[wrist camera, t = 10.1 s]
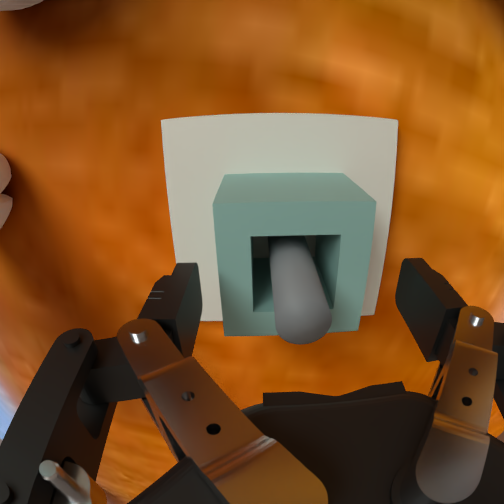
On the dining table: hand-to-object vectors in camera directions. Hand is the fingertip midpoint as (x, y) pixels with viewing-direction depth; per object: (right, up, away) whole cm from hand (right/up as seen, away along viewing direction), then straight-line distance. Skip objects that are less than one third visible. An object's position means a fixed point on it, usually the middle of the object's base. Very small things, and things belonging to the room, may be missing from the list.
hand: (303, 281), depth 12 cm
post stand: (0, +3, +6) cm, 7 cm away
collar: (0, +2, +5) cm, 6 cm away
